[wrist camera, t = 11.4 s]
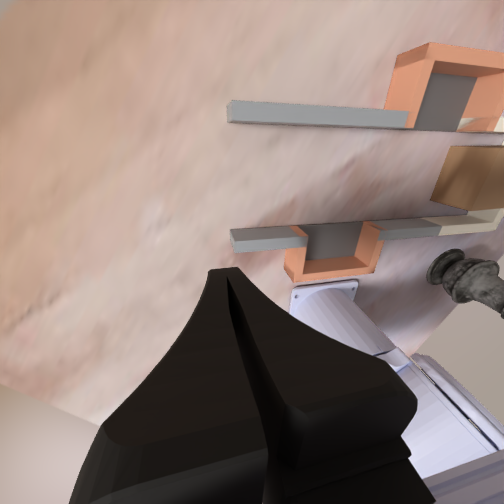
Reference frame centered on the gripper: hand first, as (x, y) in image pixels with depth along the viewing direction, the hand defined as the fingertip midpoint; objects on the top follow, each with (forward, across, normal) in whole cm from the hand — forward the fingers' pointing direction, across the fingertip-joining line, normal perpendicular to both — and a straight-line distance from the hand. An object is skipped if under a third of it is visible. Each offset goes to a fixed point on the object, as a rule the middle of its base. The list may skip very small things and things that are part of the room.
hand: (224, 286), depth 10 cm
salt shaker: (+10, -29, +8) cm, 32 cm away
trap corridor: (+9, -16, -3) cm, 18 cm away
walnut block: (+10, -25, -3) cm, 27 cm away
